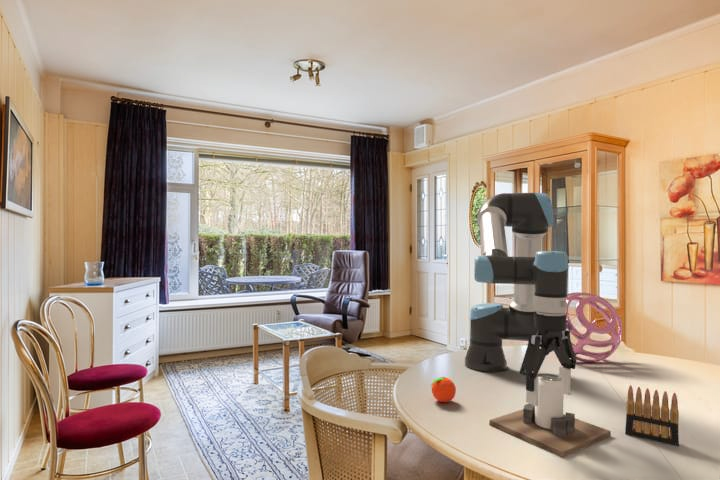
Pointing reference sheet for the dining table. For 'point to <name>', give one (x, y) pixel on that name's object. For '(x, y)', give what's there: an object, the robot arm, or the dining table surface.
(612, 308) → the pink slotted hollow sphere
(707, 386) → the dining table surface
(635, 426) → the ammunition clip
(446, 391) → the clementine
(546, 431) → the wooden board with blocks
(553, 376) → the can
